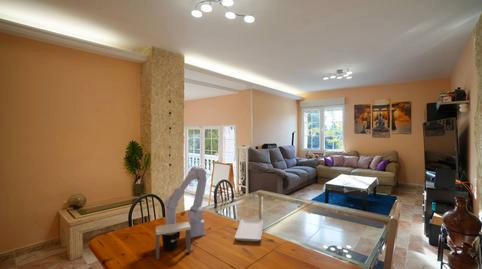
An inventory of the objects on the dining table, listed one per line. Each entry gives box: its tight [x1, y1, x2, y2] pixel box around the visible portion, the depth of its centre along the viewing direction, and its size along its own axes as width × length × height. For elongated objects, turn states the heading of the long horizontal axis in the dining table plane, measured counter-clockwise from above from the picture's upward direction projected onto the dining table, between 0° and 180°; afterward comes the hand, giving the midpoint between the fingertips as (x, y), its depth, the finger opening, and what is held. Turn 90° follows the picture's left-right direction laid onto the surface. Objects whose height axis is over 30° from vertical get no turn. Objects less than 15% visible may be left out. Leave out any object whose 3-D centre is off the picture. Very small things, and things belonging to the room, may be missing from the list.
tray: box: [233, 218, 264, 242], centre depth 153 cm, size 17×32×4 cm, turn 172°
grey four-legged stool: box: [155, 221, 192, 260], centre depth 127 cm, size 18×8×14 cm, turn 113°
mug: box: [161, 231, 181, 252], centre depth 132 cm, size 12×9×10 cm
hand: (170, 240), depth 138 cm, fingers closed, pressing on mug
